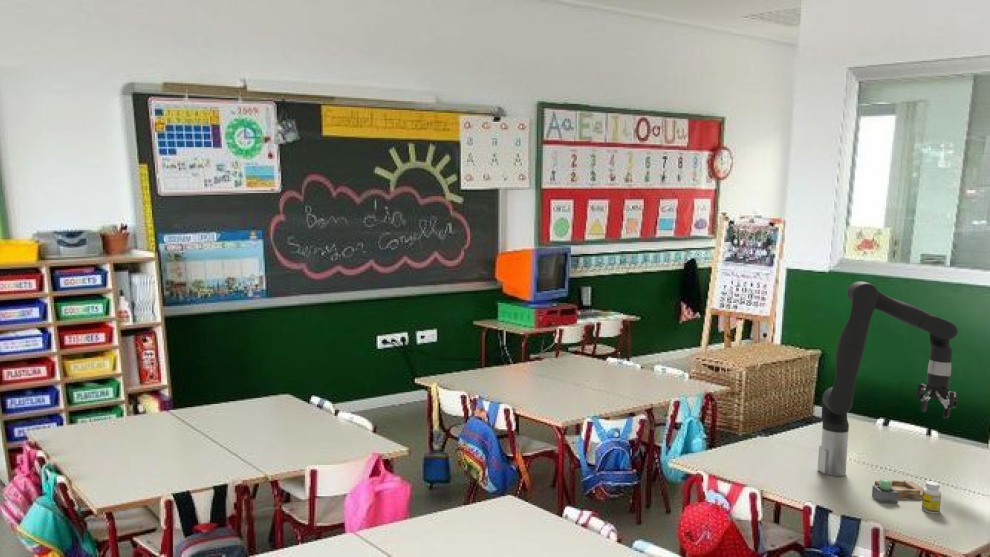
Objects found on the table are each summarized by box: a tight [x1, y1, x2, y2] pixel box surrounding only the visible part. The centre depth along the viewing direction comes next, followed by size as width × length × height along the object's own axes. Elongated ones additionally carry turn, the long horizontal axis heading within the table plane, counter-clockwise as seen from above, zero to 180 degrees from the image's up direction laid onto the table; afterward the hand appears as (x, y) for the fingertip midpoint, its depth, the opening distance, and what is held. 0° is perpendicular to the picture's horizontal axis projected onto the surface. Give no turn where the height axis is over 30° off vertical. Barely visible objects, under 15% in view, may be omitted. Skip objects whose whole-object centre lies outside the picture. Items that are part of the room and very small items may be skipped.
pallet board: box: [874, 479, 924, 498], centre depth 270 cm, size 14×13×3 cm
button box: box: [871, 485, 899, 504], centre depth 262 cm, size 6×6×4 cm
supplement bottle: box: [921, 480, 942, 515], centre depth 253 cm, size 5×5×10 cm
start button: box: [879, 478, 892, 491], centre depth 261 cm, size 4×4×3 cm
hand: (934, 414), depth 280 cm, fingers open, 8 cm apart
